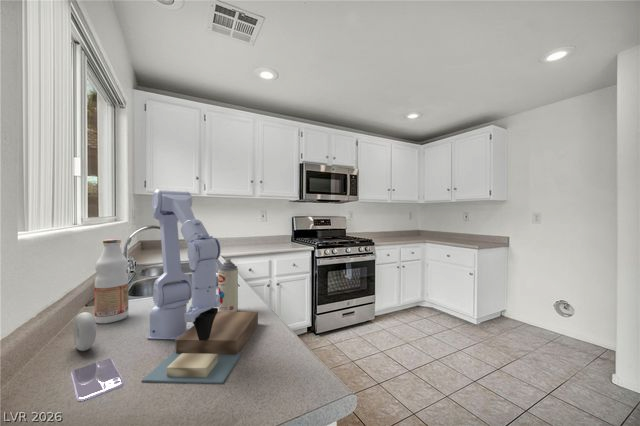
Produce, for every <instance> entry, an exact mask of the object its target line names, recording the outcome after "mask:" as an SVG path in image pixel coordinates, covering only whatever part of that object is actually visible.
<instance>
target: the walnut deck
mask: <svg viewBox="0 0 640 426" xmlns="http://www.w3.org/2000/svg"><path fill="white" fill-rule="evenodd" d="M258 325H259V312H258V311H238V312H219V311H218V312H217V314H216V316H215V318H214V321H213V324H212V329H211V333H210V337H209V339H208V340H207V341H200V340H199V338H198V335H197V331H196V328H195V326H194V325H192V326H190V327H191V328H190V329H189V330H187V331H186V332H185V333H184V334H182V335H181V336H180V337H179V338H177V339H175V352H176V354H182V353H196V354H229V355H237V353H241V350H242V349H243V347H244V345H245V344H246V343H247V341H248V340H249V338H250V337H251V336H252V333H253V332H254V330H256V328H257V326H258Z"/></svg>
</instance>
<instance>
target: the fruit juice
mask: <svg viewBox="0 0 640 426" xmlns="http://www.w3.org/2000/svg"><path fill="white" fill-rule="evenodd" d="M121 242H122V240H121V239H120V238H112V239H111V238H109V239H103V240H102V243H103V249H102V252H101V254H100V255H99V258H98V259H97V260H96V262H95V266H94V268H95V272H96V277H95V279H94V319H95V323H96V324H110V323H115V322H119V321H122V320H124V319H126V318H127V317H128V316H129V275H128V272H127V270H128V266H129V261H128V259H127V258H126V256H125V255H124V253H123V250H122V248H121Z"/></svg>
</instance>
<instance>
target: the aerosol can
mask: <svg viewBox="0 0 640 426" xmlns="http://www.w3.org/2000/svg"><path fill="white" fill-rule="evenodd" d="M238 270H239V269H238V265H235V263H233V262H232V260H231V258H226V259H225V261H224V263H223V264H221V266H219V267H218V272H217V273H218V276H217V277H218V280H217V281H218V283H217V284H218V290H217V291H218V293H217V295H220V302H221V305H220V306H219V307H218V312H239V291H238V290H239V286H238V285H239V280H238V279H239V277H238V276H239V275H238V272H239V271H238Z"/></svg>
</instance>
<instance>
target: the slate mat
mask: <svg viewBox="0 0 640 426" xmlns="http://www.w3.org/2000/svg"><path fill="white" fill-rule="evenodd" d="M180 355H181V354H176V351H174V352H172V353H171V354H170V355H168V356H167V358H165V359H164V360H163V361H162V362H161V363H160V364H159V365H157V366H156V367H155V368H154V369H153V370H151V371H150V373H148V374H147V375H146V376H145V377H144V378H142V379H141V383H171V384H172V383H173V384H175V383H176V384H219V385H221V384H222V385H223V384H224V383H225V381H226V380H227V378H228V376H229V375H230V373H231V372H232V371H233V368H234V367H235V366H236V364H237V362H238V361H239V360H240V357H241V356H242V352H239V353H237V355H229V354H218V363H217V364H216V365H215V366H214V368H213V369H212V370H211V372H210V373H209V374H208V376H207V377H171V376H167V367H168V366H169V365H170V364H171V363H172V362H173V361H174V360H175V359H176V358H177V357H179V356H180Z"/></svg>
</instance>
